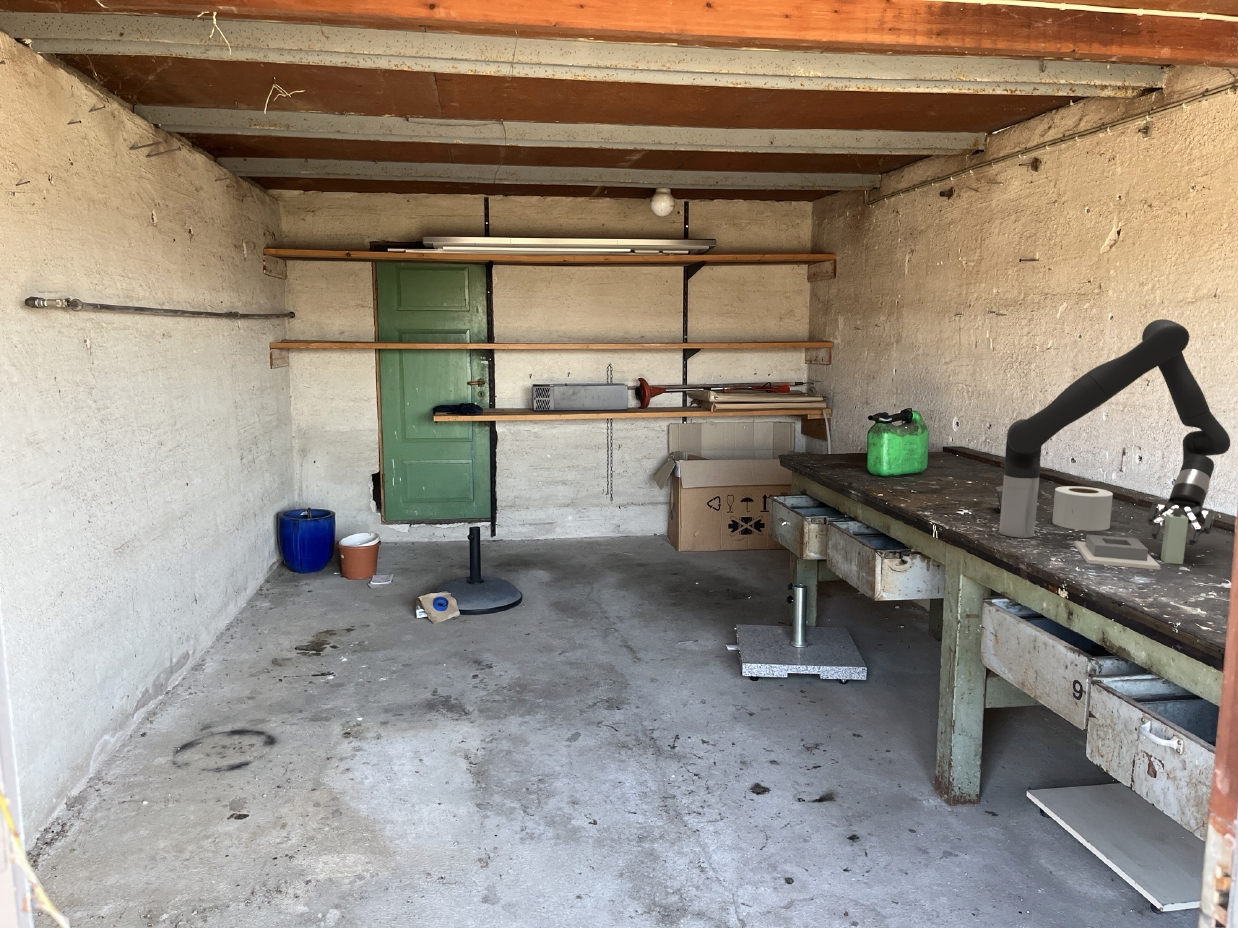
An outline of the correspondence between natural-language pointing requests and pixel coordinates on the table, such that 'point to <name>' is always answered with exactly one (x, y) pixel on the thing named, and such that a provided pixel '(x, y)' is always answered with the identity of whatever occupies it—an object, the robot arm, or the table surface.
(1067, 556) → the table surface
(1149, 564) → the plate
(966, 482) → the table surface
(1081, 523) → the roll of tape
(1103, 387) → the robot arm
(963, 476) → the table surface
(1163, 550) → the plug
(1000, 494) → the electrical switch
